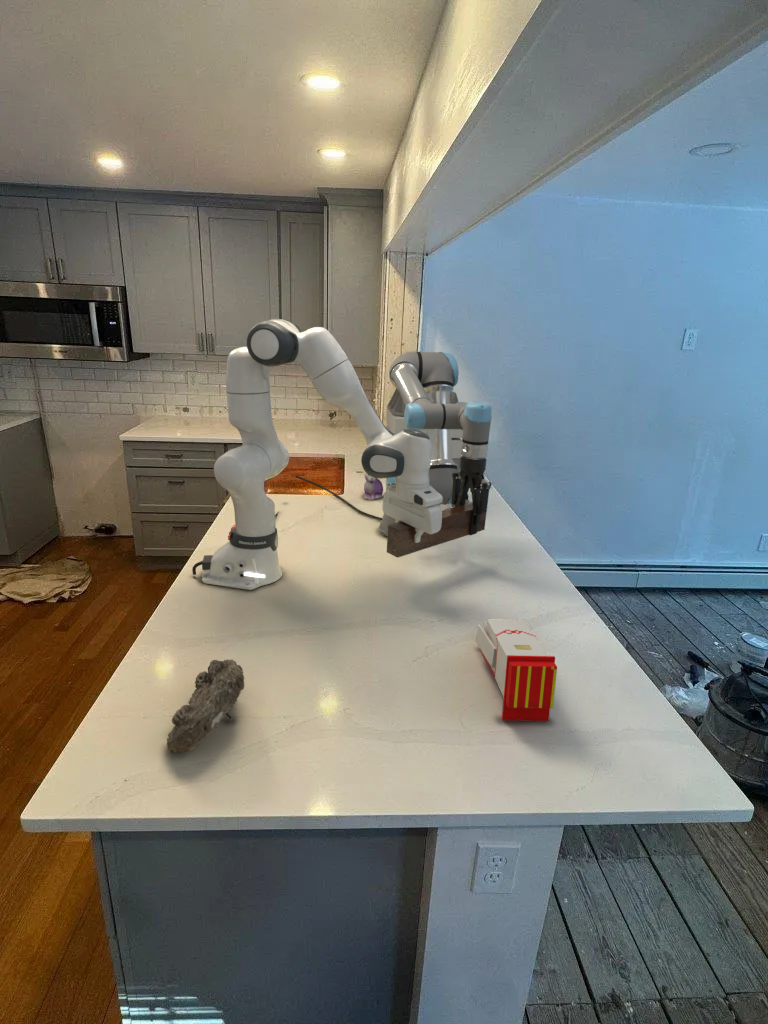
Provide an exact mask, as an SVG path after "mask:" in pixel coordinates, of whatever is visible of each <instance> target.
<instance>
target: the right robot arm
mask: <svg viewBox="0 0 768 1024" xmlns="http://www.w3.org/2000/svg"><path fill="white" fill-rule="evenodd" d="M388 371H389V372H388V376H389V377H388V378H389V381H390V383H391V384H392V386H393V387H394V388H395V389H396V388H397V389H398V390H399V392H400V394H401V396H402V398H403V401H404V403H405V405H406V407H405V412H404V420H405V425H406V427H407V428H409V429H417V430H421V429H427V435H428V436H429V438H430V440H431V450H432V452H431V466H430V469H429V479H430V482H429V485H431V486H432V487H433V488H434V489H435V490H436V491H437V492H438V493H439V494H441V495H442V497H443V501H442V503H440V504H439V505H444V506H447V505H451V506H452V505H455V506H456V507H457V506H461V505H464V503H465V500H466V497H467V494H468V493H469V491H470V493H471V503H472V505H473V513H472V514H471V518H470V528H469V535H468V536H472V535H476V534H478V532H477V526H478V525H479V523H480V515H482V514H485V513H486V514H487V511H488V505H489V496H490V490H491V487H492V486H493V485H492V482H491V481H487V480H486V479H485V475H484V473H485V472H486V468H487V458H486V457H488V450H489V440H490V431H491V423H492V419H493V418H492V416H493V415H492V412H493V411H492V410H493V408H492V405H491V404H490V403H488V402H484V401H469V402H466V401H458V403H456V404H450V397H449V394H450V393H451V392H453V391H454V387H455V386H457V384H458V383H459V382H458V381H459V375H460V374H459V372H460V371H459V366H458V361H457V359H456V357H455V356H454V354H453V353H451V352H443V351H415V350H414V351H407V352H404V353H402V354H400V355H399V356H397V357H396V358H395V359H394V360H393V361H392V363H391V364H390V367H389V370H388ZM451 429H461V430H463V437H462V438H461V440H462V448H461V458H460V469H461V470H460V471H457V465H456V464H455V463H454V462H453V460H452V440H451ZM295 478H297V479H299V480H302V481H304V482H307V483H309V484H311V485H314V486H316V487H318V488H320V489H322V490H324V491H326V492H328V493H330V494H331V495H333V496H334V497H336V498H338V499H339V500H340V501H342V502H343V503H344V504H346V505H347V506H349V507H350V508H352V509H353V510H354V511H356V512H358V513H359V514H362V515H364V516H365V517H366V516H367V517H368V518H369V517H370V518H373V519H375V520H379V521H381V522H379V525H378V533H379V534H380V535H381V536H382V537H385V538H387V534H388V525H390V524H394V523H396V522H395V518H393V517H390V516H388V515H386V514H384V513H383V515H382V517H380V516H376V515H373V514H370V513H368V512H365V511H363V510H360V509H359V508H357V507H356V506H354V505H353V504H351V503H350V502H349V501H347V500H345V499H344V498H343V497H342V496H339V494H337V493H335V492H334V491H332V490H330V489H328V488H327V487H324V486H323V485H320V484H319V483H316V482H314V481H311V480H309V479H306V478H305V477H301V476H299V475H295ZM389 483H394V484H396V477H391V478H386V480H385V487H386V486H387V485H388V484H389ZM468 495H469V494H468Z"/></svg>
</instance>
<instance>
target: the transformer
mask: <svg viewBox="0 0 768 1024" xmlns="http://www.w3.org/2000/svg"><path fill="white" fill-rule="evenodd" d="M449 397H450V404H456V403H458V402H459V398H458V395H457V392H455V391H454V390H453V391H452V392H451V393H450V394H449ZM405 407H406V405H405V403H404V401H403V398H402V396H401V394H400V392H399V390H398V389H397V388H396V387H395V390H394V392H393V394H392V395H391V398H390V400H389V402H388V404H387V405H386V413H385V414H386V415H385V423H386V425H385V427H386V428H387V429H388V430H390V431H391V432H392V433H394V434H395V435H396V434H398V433H400V432H401V431H402V430H404V429H409V428H407V427H406V425H405V420H404V412H405ZM415 430H417V429H415ZM419 431H422V432H423V433H426V434H427V429H421V430H419ZM462 437H463V430H461V429H451V440H452V460H453V462H454V463H455V464H456V465H457V471H460V470H461V469H460V458H461V456H462V455H461V448H462Z"/></svg>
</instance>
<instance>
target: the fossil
mask: <svg viewBox="0 0 768 1024" xmlns="http://www.w3.org/2000/svg"><path fill="white" fill-rule="evenodd" d="M243 670H244V669H243V667H242V665H240V664H237V662H236V661H235V660H234V659H232V658H231V659H227V658H226V659H224V660H223V661H222V660H217V659H212V660H211V661H210V663H209V665H208V666H207V671H201V672H199V673H198V674H197V675H196V676H195V680H194V684H195V685H194V687H195V689H194V690H193V693H192V694H191V697H190V698H189V700H188V704H184V705H182V706H181V707H180V709H177V710H176V711H175V713H174V715H173V716H172V718H171V723H172V724H173V727H172V730H171V731H170V732H168V734H167V738H166V741H167V742H166V745H167V749H168V750H169V751H173V752H174V753H176V754H178V753H182V752H188V751H189V752H192V751H193V750H195V748H196V747H197V746H199V744H200V743H201V742H203V741H204V740H205V739H206V738H207V737H208V736H209V735H210V734H211V733H212V732H214V730H215V729H217V727H218V726H219V724H220V722H221V721H222V720H223V719H224V718H225V716H226V717H227V719H229V720H233V717H232V715H230V714H229V710H230V709H231V708H234V706H235V704H236V703H237V702H238V699H239V697H240V695H241V693H242V691H243V690H245V689H244V688H245V675H244V671H243Z"/></svg>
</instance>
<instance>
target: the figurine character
mask: <svg viewBox="0 0 768 1024" xmlns="http://www.w3.org/2000/svg"><path fill="white" fill-rule="evenodd" d="M469 498H470V496H469V494H467V497H466V500H465V503H464V504H468V503H470V500H469ZM453 507H456V506H455V505H452V504H451V508H453Z"/></svg>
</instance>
